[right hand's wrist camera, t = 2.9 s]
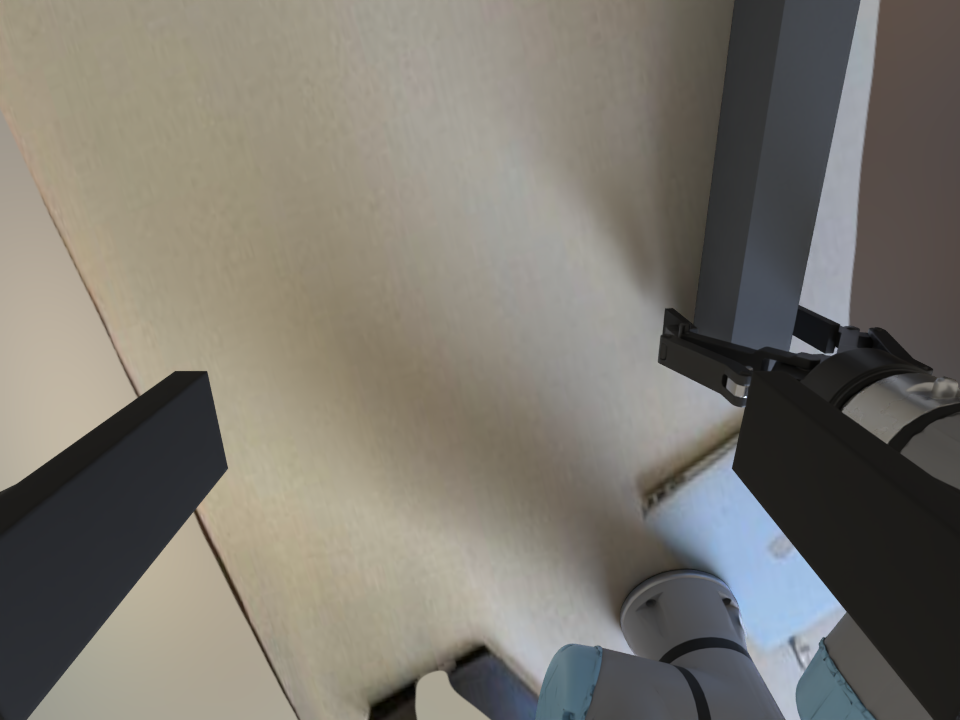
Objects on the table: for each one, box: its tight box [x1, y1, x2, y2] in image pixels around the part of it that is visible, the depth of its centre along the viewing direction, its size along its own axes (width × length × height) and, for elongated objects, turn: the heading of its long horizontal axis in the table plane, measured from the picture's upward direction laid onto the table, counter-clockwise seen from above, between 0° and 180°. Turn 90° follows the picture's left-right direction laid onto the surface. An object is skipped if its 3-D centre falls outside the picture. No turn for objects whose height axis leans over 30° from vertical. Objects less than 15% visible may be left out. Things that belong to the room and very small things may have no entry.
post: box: [693, 0, 860, 371], centre depth 42 cm, size 50×5×8 cm, turn 2°
